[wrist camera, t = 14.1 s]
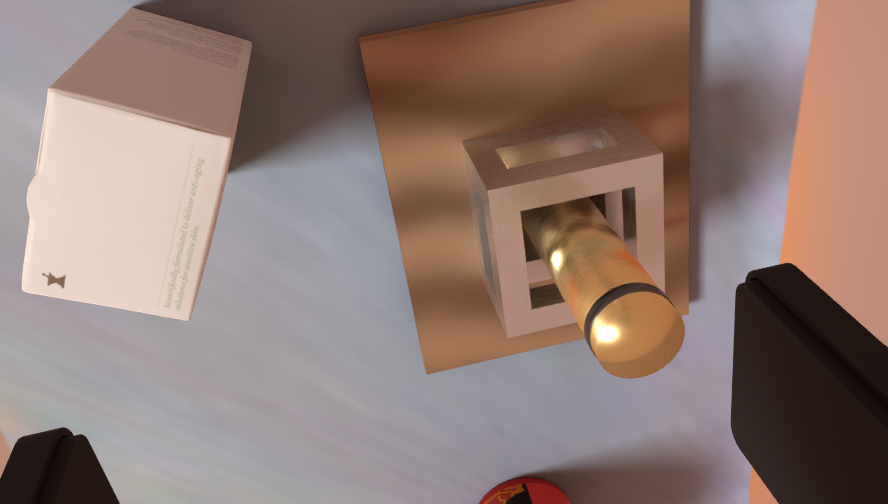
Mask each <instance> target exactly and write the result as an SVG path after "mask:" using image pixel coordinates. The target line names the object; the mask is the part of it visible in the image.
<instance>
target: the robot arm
mask: <svg viewBox="0 0 888 504" xmlns="http://www.w3.org/2000/svg"><path fill="white" fill-rule="evenodd" d="M731 428H732V433H733V436H734V439H735V441H736V443H737V445H738V447H739V449H740V450H741V451H742V453H743V454H744V456H745V457H746V458H747V460H748V461H749V463H750V464H751V465H752V467H753V468H754V470H755V471H756V472H757V474H758V475H759V477H760V478H761V479H762V481H763V482H764V483H765V485H766V486H767V488H768V489H769V490H770V492H771V493H772V495H773V496H774V498H775V499H776V500H777V502H778V503H779V504H888V347H887V346H886V345H884V344H883V343H882V342H880V341H879V340H878V339H877V338H876V337H875V336H874V335H873V334H871V333H870V332H869V331H868V330H867V329H866V328H865V327H864V326H862V325H861V324H860V323H859V322H858V321H857V320H856V319H854V318H853V317H852V316H851V315H850V314H849V313H848V312H847V311H846V310H844V309H843V308H842V307H841V306H840V305H839V304H838V303H837V302H835V301H834V300H833V299H832V298H831V297H830V296H829V295H828V294H826V293H825V292H824V291H823V290H822V289H821V288H820V287H819V286H817V285H816V284H815V283H814V282H813V281H812V280H811V279H810V278H808V277H807V276H806V275H805V274H804V273H803V272H802V271H801V270H799V269H798V268H797V267H796V266H794V265H793V264H791V263H784V264H780V265H775V266H771V267H766V268H762V269H758V270H753V271H751V272H749V273H748V275H747V277H746V281H745V283H741V284H739V285H738V287H737V289H736V299H735V325H734V351H733V377H732V403H731ZM0 504H120V503H119V501H118V499H117V497H116V495H115V493H114V491H113V489H112V487H111V485H110V483H109V481H108V479H107V477H106V475H105V473H104V471H103V469H102V467H101V465H100V463H99V461H98V459H97V457H96V455H95V453H94V451H93V449H92V447H91V445H90V443H89V441H88V439H87V438H86V437H85V436H84V435H81V434H80V435H75V436H74V435H73V434H72V432H71V431H70V430H69V429H67V428H63V427H62V428H58V429H54V430H49V431H45V432H40V433H36V434H32V435H27V436H23V437H21V438H19V439H18V441H17V442H16V444H15V446H14V448H13V450H12V453H11V455H10V458H9V460H8V462H7V464H6V467H5V469H4V471H3V474H2V476H1V478H0Z"/></svg>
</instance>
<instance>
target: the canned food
mask: <svg viewBox="0 0 888 504" xmlns="http://www.w3.org/2000/svg"><path fill="white" fill-rule="evenodd" d="M479 504H571V503H570V501H569V499H568V498H567V496H566V495H565V494H564V493H563V492H562V491H561V490H560V489H559V488H558V487H557V486H556V485H554V484H552V483H551V482H549V481H546V480H543V479H538V478H519V479H514V480H510V481H507V482H505V483H503V484H500V485H498V486H497V487H495V488H494V489H492V490H491V491H489V492H488V493H487V494H486V495H485V496H484V497H483V499H482V500H481V501H480V503H479Z"/></svg>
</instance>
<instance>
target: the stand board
mask: <svg viewBox="0 0 888 504" xmlns="http://www.w3.org/2000/svg"><path fill="white" fill-rule="evenodd" d="M358 42H359V47H360V52H361V56H362V61H363V66H364V71H365V76H366V81H367V86H368V91H369V96H370V101H371V106H372V110H373V115H374V120H375V125H376V130H377V135H378V140H379V145H380V150H381V155H382V159H383V164H384V169H385V174H386V179H387V184H388V189H389V194H390V199H391V204H392V209H393V213H394V218H395V223H396V228H397V233H398V238H399V243H400V248H401V253H402V258H403V263H404V267H405V272H406V277H407V282H408V287H409V292H410V297H411V302H412V307H413V312H414V316H415V321H416V326H417V331H418V336H419V341H420V346H421V351H422V356H423V361H424V365H425V369H426V373H427V374H431V373H435V372H439V371H444V370H448V369H452V368H457V367H461V366H466V365H470V364H474V363H479V362H483V361H487V360H492V359H496V358H500V357H505V356H509V355H513V354H518V353H522V352H526V351H531V350H535V349H539V348H544V347H548V346H552V345H557V344H561V343H565V342H570V341H574V340H578V339H583V338H585V336H584V334H583V332H582V330H581V328H580V327H579V325H578V323H577V322H576V323H572V324H568V325H563V326H559V327H555V328H550V329H546V330H541V331H537V332H533V333H528V334H524V335H520V336H515V337H511V338H507V336H506V333H505V331H504V329H503V326H502V324H501V321H500V319H499V317H498V314H497V312H496V310H495V307H494V305H493V303H492V300H491V298H490V296H489V293H488V291H487V288H486V286H485V284H484V281H483V279H482V277H481V271H480V264H479V258H478V251H477V244H476V237H475V231H474V224H473V217H472V211H471V204H470V197H469V190H468V184H467V177H466V170H465V164H464V157H463V150H462V143H461V141H466V140H471V139H475V138H480V137H485V136H490V135H495V134H499V133H504V132H509V131H514V130H519V129H523V128H528V127H533V126H538V125H543V124H547V123H552V122H557V121H562V120H567V119H571V118H576V117H581V116H586V115H591V114H596V113H600V112H605V111H610V110H616V111H617V112H618V113H619V114H620V115H621V116H622V117H623V118H625V119H626V120H627V121H628V122H629V123H630V124H631V125H632V126H633V127H635V128H636V129H637V130H638V131H639V132H640V133H641V134H642V135H643V136H644V137H646V138H647V139H648V140H649V141H650V142H651V143H652V144H653V145H654V146H656V147H657V148H658V149H659V150H660V151H661V152H662V153H663V190H664V261H665V295H666V296H667V297H668V298H669V300H670V301H671V302H672V304H673V305H674V307H675V309H676V311H677V312H678V313H679V315H680V316H683V315H687V314H689V109H690V0H546V1H541V2H536V3H531V4H526V5H521V6H516V7H511V8H506V9H501V10H495V11H490V12H485V13H480V14H475V15H470V16H465V17H460V18H455V19H450V20H444V21H439V22H434V23H429V24H424V25H419V26H414V27H409V28H404V29H399V30H393V31H388V32H383V33H378V34H373V35H368V36H363V37H358ZM589 198H590V199H591V201H592V202H593V203H594V205H595V198H594V195H593V196H589ZM522 230H523V239H524V245H527V244H532V241H531V240H530V238H529V236H528V234H527V233H526V231H525V229H524V227H523V225H522ZM553 283H555V282H554V280H553V279H547V280H543V281H539V282H534V283H530V284H529V289H531V288H535V287H540V286H544V285H549V284H553Z"/></svg>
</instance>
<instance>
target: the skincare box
mask: <svg viewBox="0 0 888 504" xmlns="http://www.w3.org/2000/svg"><path fill="white" fill-rule="evenodd" d="M251 51H252V42H251V41H248V40H244V39H241V38H238V37H235V36H231V35H228V34H224V33H221V32H217V31H214V30H210V29H207V28H203V27H200V26H196V25H193V24H189V23H186V22H182V21H179V20H175V19H171V18H168V17H164V16H160V15H157V14H153V13H150V12H146V11H143V10H139V9H136V8H130V9H129V10H128V11H127V12H126V13H125V14H124V15H123V16H122V17H121V18H120V19H119V20H118V21H117V22H116V23H115V24H114V25H113V26H112V27H111V28H110V29H109V30H108V31H107V32H106V33H105V34H104V35H103V36H102V37H101V38H100V39H99V40H98V41H97V42H96V43H95V44H94V45H93V46H92V47H91V48H90V49H89V50H87V51H86V52H85V53H84V54H83V55H82V56H81V57H80V58H79V59H78V60H77V61H76V62H75V63H74V64H73V65H72V66H71V67H70V68H69V69H68V70H67V71H66V72H65V73H64V74H63V75H62V76H61V77H60V78H59V79H58V80H57V81H56V82H55V83H53V84H52V85H51V86H50V87H49V88H48V91H47V104H46V110H45V116H44V122H43V129H42V135H41V141H40V148H39V154H38V161H37V167H36V173H35V177H34V179H33V180H32V182H31V184H30V186H29V188H28V192H27V207H28V211H29V214H30V221H29V228H28V236H27V243H26V250H25V259H24V266H23V275H22V290H23V291H24V292H25V293H32V294H38V295H44V296H50V297H56V298H62V299H67V300H73V301H79V302H85V303H91V304H97V305H103V306H110V307H116V308H121V309H126V310H132V311H137V312H142V313H147V314H153V315H158V316H164V317H170V318H175V319H181V320H187V321H189V320H190V318H191V315H192V312H193V308H194V304H195V301H196V297H197V293H198V290H199V286H200V282H201V279H202V275H203V271H204V268H205V264H206V260H207V256H208V253H209V249H210V245H211V241H212V237H213V233H214V229H215V225H216V220H217V216H218V212H219V208H220V203H221V199H222V195H223V191H224V186H225V182H226V178H227V173H228V168H229V164H230V159H231V154H232V149H233V144H234V139H235V134H236V129H237V124H238V119H239V113H240V108H241V102H242V97H243V92H244V86H245V81H246V76H247V71H248V66H249V61H250V56H251Z"/></svg>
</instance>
